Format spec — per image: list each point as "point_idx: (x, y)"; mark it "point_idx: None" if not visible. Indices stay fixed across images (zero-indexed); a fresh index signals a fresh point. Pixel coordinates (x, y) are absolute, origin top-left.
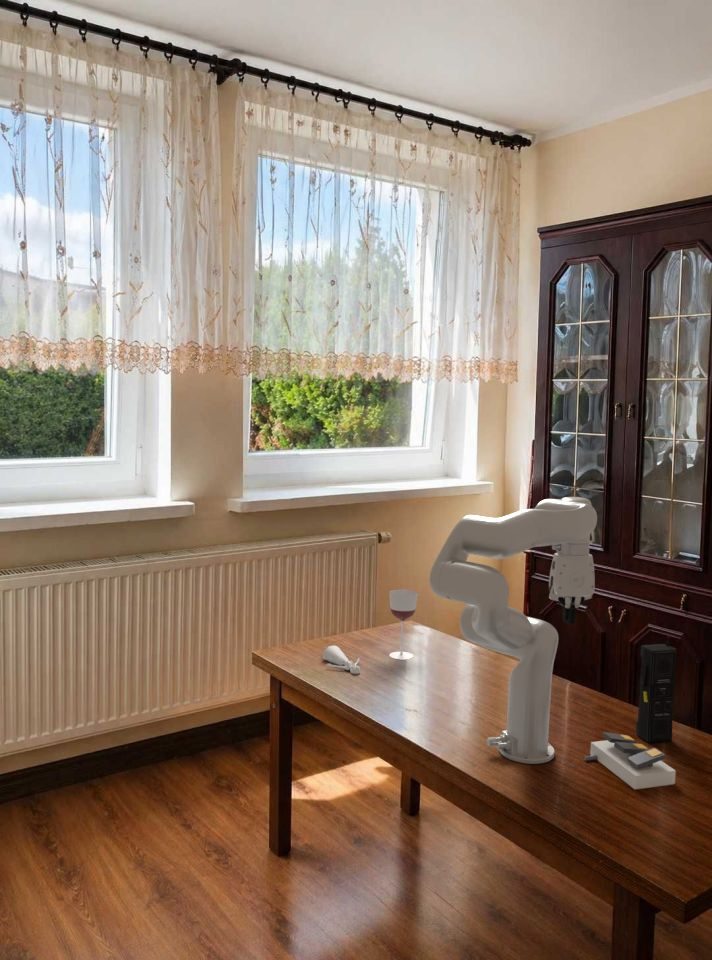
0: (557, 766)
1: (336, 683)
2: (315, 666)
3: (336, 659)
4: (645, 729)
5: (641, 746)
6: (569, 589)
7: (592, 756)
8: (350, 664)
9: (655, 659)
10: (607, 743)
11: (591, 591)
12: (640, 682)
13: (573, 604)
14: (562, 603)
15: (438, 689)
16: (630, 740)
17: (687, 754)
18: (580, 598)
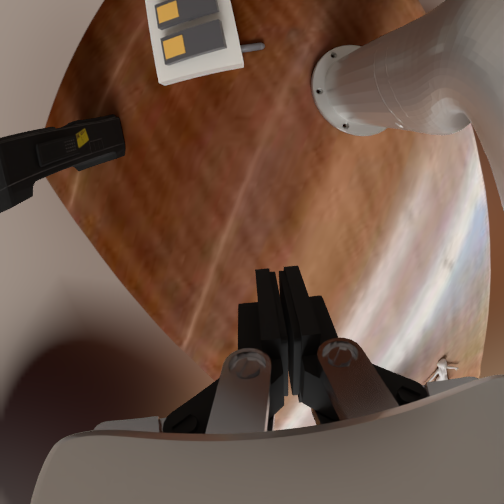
0: (320, 35)
1: (470, 333)
2: (460, 368)
3: (447, 378)
4: (112, 125)
5: (166, 11)
6: (456, 483)
7: (249, 45)
8: (444, 370)
9: (8, 136)
10: (212, 56)
11: (68, 469)
12: (74, 149)
13: (275, 381)
14: (385, 372)
15: (386, 330)
16: (173, 36)
17: (78, 83)
18: (211, 425)
